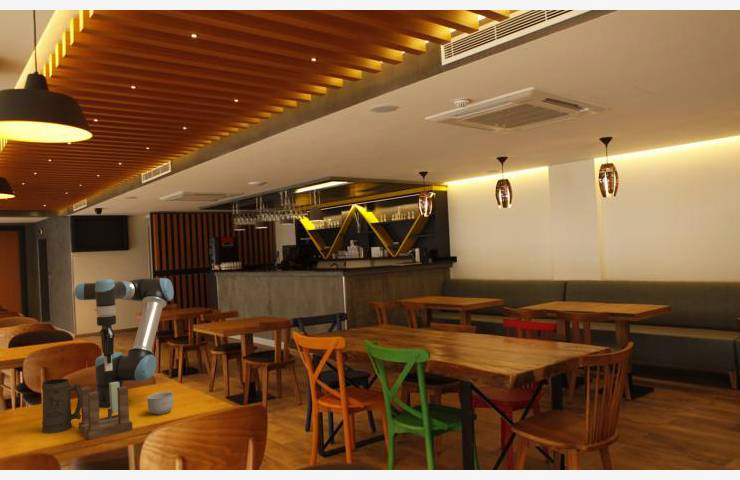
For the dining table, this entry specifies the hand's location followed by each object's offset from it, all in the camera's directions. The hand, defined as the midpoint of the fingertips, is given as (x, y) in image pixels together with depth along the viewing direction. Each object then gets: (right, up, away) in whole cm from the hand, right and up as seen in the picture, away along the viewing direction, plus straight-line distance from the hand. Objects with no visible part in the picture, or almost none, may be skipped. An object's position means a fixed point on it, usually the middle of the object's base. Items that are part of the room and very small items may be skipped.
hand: (108, 370), depth 247 cm
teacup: (+20, -20, +8) cm, 30 cm away
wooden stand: (+6, -20, -16) cm, 26 cm away
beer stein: (-13, -21, -11) cm, 28 cm away
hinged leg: (+6, -15, -8) cm, 19 cm away
